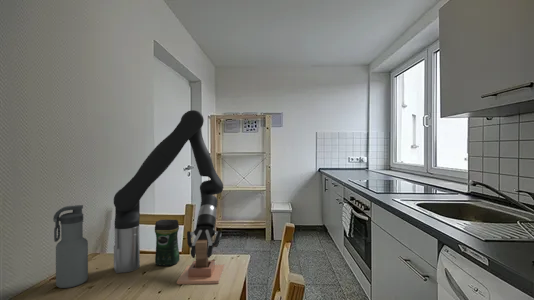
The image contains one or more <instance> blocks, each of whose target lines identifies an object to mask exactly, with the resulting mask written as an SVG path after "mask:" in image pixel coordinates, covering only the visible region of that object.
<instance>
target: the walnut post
mask: <svg viewBox="0 0 534 300" xmlns="http://www.w3.org/2000/svg"><path fill="white" fill-rule="evenodd" d="M208 246H209V242H208V239H204V240H197V241H196V243H195V249H196V253H195V261H196V268H208V260H209V258H208V256H207V253H208Z"/></svg>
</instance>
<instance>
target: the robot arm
mask: <svg viewBox="0 0 534 300" xmlns="http://www.w3.org/2000/svg"><path fill="white" fill-rule="evenodd" d="M204 121H205V120H204V115H203V114H202V113H201V112H200V111H199V110H191V109H190V110H188V111H185V112H184V114H182V116H181V117H180V121H179V123H178V124H177V125H176V126H175V128H174V129H173V130H172V131H171V132H170V134H168V135H167V136H166V137H165V138H164V139H163V140H161V141H160V142H159V143H158V144H157V145H156V146H155V148H154V149H152V151H151V152H150V153H149V155H147V156H146V158H145V160H144V161H143V163H142V164H141V165H140V167H139V169H138V170H137V171H136V173H135V174H134V176H133V177H132V178H131V179H130V180H129V181H128V182H127V183H125V185H124V186H122V187H121V188H119V190H117V192H116V193H115V195H114V196H113V205H114V207H115V209H114V210H115V211H114V212H115V213H114V215H115V216H114V245H113V270H114V272H115V273H116V274H119V273H122V274H123V273H129V272H133V271H136V270H138V269H139V268H140V267H141V265H140V264H141V261H140V260H141V255H140V254H141V253H140V248H141V247H140V218H141V215H140V214H141V213H140V204H141V203H140V201H141V199H142V197H143V196H144V195H145V193H146V192H147V190H148V189H149V188H150V186H151V185H152V184H153V183H155V181H157V179H159V178H160V176H161V175H162V174H164V172H165V171H166V170H167V169H168V168H169V167H170V165H172V163H173V162H174V160H175V159H176V158H177V157H178V155H179V154H180V152H181V151H182V149H183V148H184V147H185V145H186V143H187V142H188V141H189V144H190V146H191V150H192V154H193V157H194V160H195V164H196V167H197V171H198V174H199V175H200V177H208V178H209V180H208V179H207V180H204V181H202V182H201V184H200V186H199V192H200V198H201V202H200V207H199V210H198V214H197V221H196V226H195V229H194V230H193V231H190V230H187V233H186V238H187V239H186V242H187V246H188V248H190V249H191V250H190V257H192V258H193V259H196V249H195V243H196V241H197V240H204V239H208V253H207V256H208V259H209V258H211V257H212V256H213V250H214V248H218V247H219V244H220V241H221V238H222V231H221V230H218V231H217V230H216V222H217V221H216V220H217V209H218V208H217V207H218V198H217V197H216V196H215V195H218V194H221V193H222V192H223V190H224V184H223V181H222V179H221V178H220V176H219V175H218V173H217V171H216V169H215V166H214V164H213V160H212V157H211V154H210V152H209V150H208V148H207V146H206V144H205V140H204V138H203V133H202V127H203V126H204ZM194 236H195V238H194V240H193V242H192V239H193V237H194ZM214 236H215V240H214V241H212V238H213V237H214Z"/></svg>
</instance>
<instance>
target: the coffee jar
mask: <svg viewBox="0 0 534 300" xmlns="http://www.w3.org/2000/svg"><path fill="white" fill-rule="evenodd" d="M179 225H180V224H179V221H178V219H160V220H157V221H155V224H154V233H155V237H156V238H155V239H156V240H155V257H154V263H155V265H156V266H173V265H177V264H178V263H179V262H180V251H179V248H180V247H179V240H178V238H179V237H178V232H179V229H180V226H179Z"/></svg>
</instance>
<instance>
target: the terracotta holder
mask: <svg viewBox="0 0 534 300" xmlns="http://www.w3.org/2000/svg"><path fill="white" fill-rule="evenodd" d="M224 270H225V264H216V260H215V259H214V260H210V259H208V268H196V260H193V261H192V263H191V264H190V265H189V264H188V265H186V267H185V269H184V270H183V272H182V273H181V274H180V276H179V278H177V280H176V285H201V284H202V285H203V284H205V285H209V284H220V281H221V278H222V275H223V272H224Z"/></svg>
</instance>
